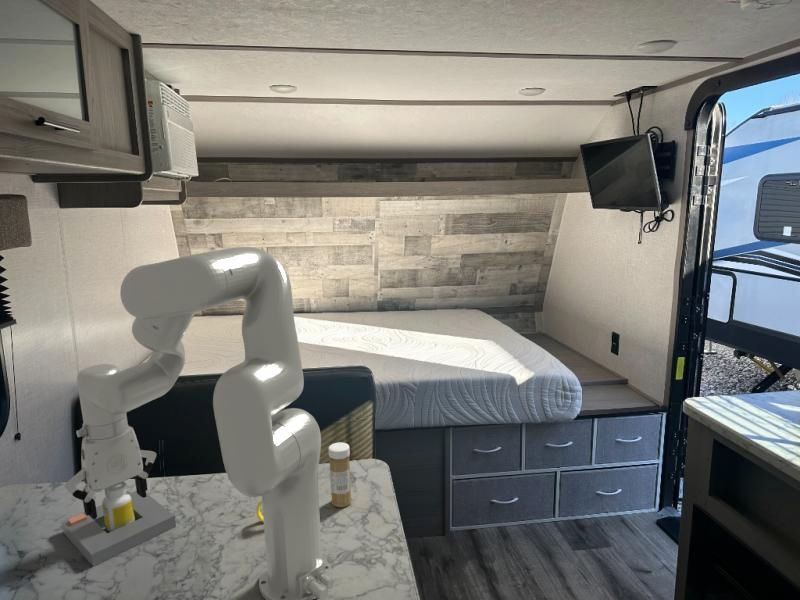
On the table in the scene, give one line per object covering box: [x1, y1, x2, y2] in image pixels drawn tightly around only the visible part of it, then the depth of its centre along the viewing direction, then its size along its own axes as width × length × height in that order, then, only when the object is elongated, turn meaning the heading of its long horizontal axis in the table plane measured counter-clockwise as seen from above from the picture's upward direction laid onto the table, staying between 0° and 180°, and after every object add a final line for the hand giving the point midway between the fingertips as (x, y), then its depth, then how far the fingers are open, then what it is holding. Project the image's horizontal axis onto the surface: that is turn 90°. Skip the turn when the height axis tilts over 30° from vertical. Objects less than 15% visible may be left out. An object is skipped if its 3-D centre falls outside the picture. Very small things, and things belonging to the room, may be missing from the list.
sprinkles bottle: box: [327, 442, 352, 508], centre depth 119 cm, size 5×5×13 cm
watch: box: [256, 499, 264, 523], centre depth 114 cm, size 6×3×6 cm, turn 92°
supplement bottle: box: [101, 481, 136, 533], centre depth 111 cm, size 5×5×10 cm
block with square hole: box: [61, 490, 177, 567], centre depth 112 cm, size 16×16×3 cm
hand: (117, 505), depth 111 cm, fingers open, 9 cm apart
